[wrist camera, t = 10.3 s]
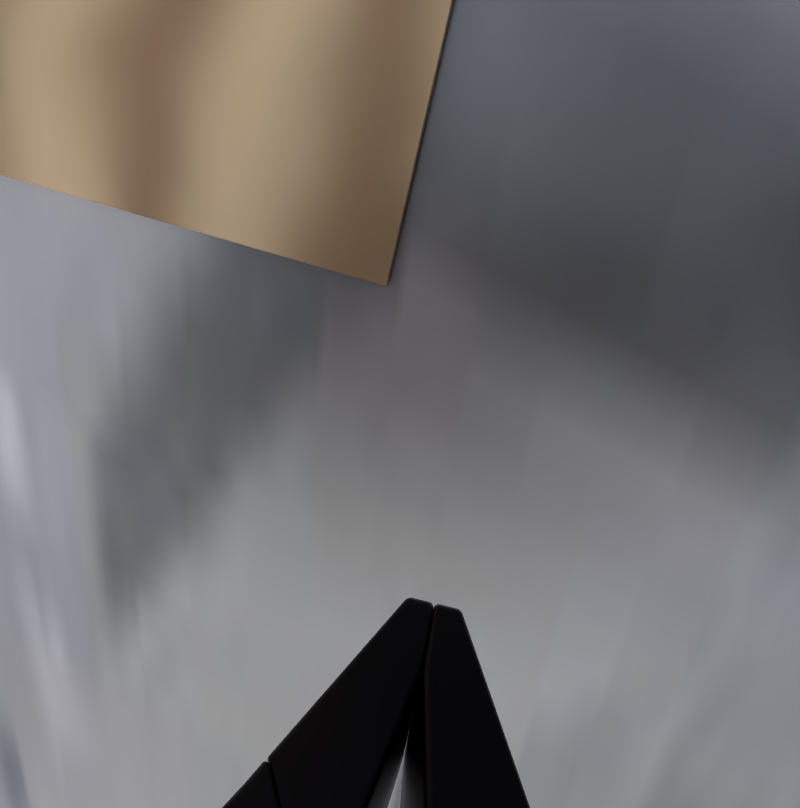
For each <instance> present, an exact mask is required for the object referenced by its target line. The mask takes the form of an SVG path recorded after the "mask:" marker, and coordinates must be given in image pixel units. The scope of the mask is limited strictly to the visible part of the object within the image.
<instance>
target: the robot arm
mask: <svg viewBox="0 0 800 808" xmlns="http://www.w3.org/2000/svg"><path fill="white" fill-rule="evenodd" d="M432 612H433V613H432ZM409 727H410V728H409ZM408 732H409V733H408ZM407 737H408V738H407ZM406 741H407V744H406ZM405 746H406V751H405V757H404V766H403V777H402V789H401V802H400V808H530V806H529V803H528V801H527V798H526V795H525V792H524V789H523V786H522V783H521V781H520V778H519V775H518V772H517V769H516V766H515V763H514V760H513V758H512V755H511V752H510V749H509V746H508V743H507V740H506V738H505V735H504V732H503V729H502V726H501V723H500V720H499V717H498V715H497V712H496V709H495V706H494V703H493V700H492V697H491V695H490V692H489V689H488V686H487V683H486V680H485V677H484V674H483V672H482V669H481V666H480V663H479V660H478V657H477V654H476V652H475V649H474V646H473V643H472V640H471V637H470V634H469V631H468V629H467V626H466V623H465V620H464V617H463V614H462V613H461V611H460V610H459V609H456V608H452V607H447V606H443V605H439V604H437V605H435V606H434V608H433V605H432V604H431V603H430V602H427V601H423V600H419V599H414V598H407V599H406V600H405V601H404V602H403V603H402V604H401V605H400V607H399V608H398V609H397V610H396V611H395V612H394V613H393V615H392V616H391V617H390V618H389V619H388V620H387V621H386V623H385V624H384V625H383V626H382V627H381V628H380V629H379V631H378V632H377V633H376V634H375V635H374V636H373V637H372V639H371V640H370V641H369V642H368V643H367V644H366V646H365V647H364V648H363V649H362V650H361V651H360V652H359V654H358V655H357V656H356V657H355V658H354V659H353V660H352V662H351V663H350V664H349V665H348V666H347V667H346V668H345V670H344V671H343V672H342V673H341V674H340V675H339V676H338V678H337V679H336V680H335V681H334V682H333V683H332V684H331V686H330V687H329V688H328V689H327V690H326V691H325V692H324V694H323V695H322V696H321V697H320V698H319V699H318V700H317V702H316V703H315V704H314V705H313V706H312V707H311V708H310V710H309V711H308V712H307V713H306V714H305V715H304V716H303V718H302V719H301V720H300V721H299V722H298V723H297V725H296V726H295V727H294V728H293V729H292V730H291V731H290V733H289V734H288V735H287V736H286V737H285V738H284V739H283V741H282V742H281V743H280V744H279V745H278V746H277V747H276V749H275V750H274V751H273V752H272V753H271V754H270V755H269V757H268V762H266V761H265V762H263V763H262V764H261V765H260V766H259V768H258V769H257V770H256V771H255V772H254V773H253V774H252V776H251V777H250V778H249V779H248V780H247V781H246V782H245V784H244V785H243V786H242V787H241V788H240V789H239V790H238V791H237V792H236V793H235V794H234V796H233V797H232V798H231V799H230V800H229V801H228V802H227V803H226V804H225V805H224V806H223V807H222V808H387V807H388V804H389V801H390V798H391V794H392V791H393V788H394V785H395V782H396V779H397V775H398V772H399V769H400V765H401V762H402V758H403V755H404V750H405Z"/></svg>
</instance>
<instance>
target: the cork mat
mask: <svg viewBox="0 0 800 808" xmlns="http://www.w3.org/2000/svg"><path fill="white" fill-rule="evenodd" d="M453 2H454V0H0V174H1V175H4V176H7V177H11V178H14V179H18V180H21V181H25V182H28V183H32V184H35V185H38V186H42V187H45V188H49V189H52V190H56V191H59V192H63V193H66V194H69V195H73V196H76V197H80V198H83V199H87V200H90V201H94V202H97V203H101V204H104V205H107V206H111V207H114V208H118V209H121V210H125V211H128V212H132V213H135V214H138V215H142V216H145V217H149V218H152V219H156V220H159V221H163V222H166V223H169V224H173V225H176V226H180V227H183V228H187V229H190V230H194V231H197V232H200V233H204V234H207V235H211V236H214V237H218V238H221V239H225V240H228V241H231V242H235V243H238V244H242V245H245V246H249V247H252V248H256V249H259V250H262V251H266V252H269V253H273V254H276V255H280V256H283V257H287V258H290V259H293V260H297V261H300V262H304V263H307V264H311V265H314V266H318V267H321V268H324V269H328V270H331V271H335V272H338V273H342V274H345V275H349V276H352V277H355V278H359V279H362V280H366V281H369V282H373V283H376V284H380V285H383V286H387V285H388V283H389V278H390V274H391V270H392V265H393V261H394V257H395V253H396V248H397V244H398V240H399V235H400V231H401V227H402V222H403V218H404V214H405V209H406V205H407V201H408V196H409V192H410V188H411V184H412V179H413V175H414V171H415V166H416V162H417V158H418V153H419V149H420V145H421V140H422V136H423V132H424V127H425V123H426V119H427V115H428V110H429V106H430V102H431V97H432V93H433V89H434V84H435V80H436V76H437V71H438V67H439V63H440V58H441V54H442V50H443V46H444V41H445V37H446V33H447V28H448V24H449V20H450V15H451V11H452V7H453Z"/></svg>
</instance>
